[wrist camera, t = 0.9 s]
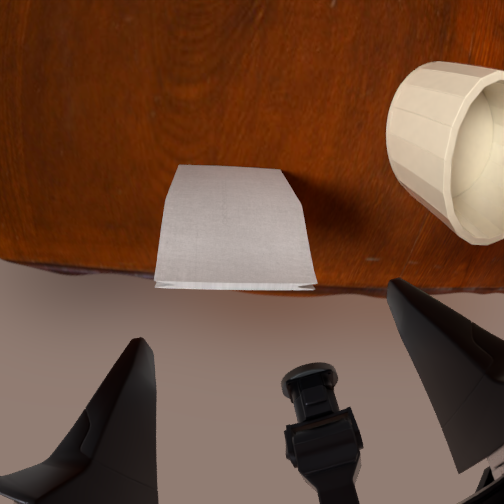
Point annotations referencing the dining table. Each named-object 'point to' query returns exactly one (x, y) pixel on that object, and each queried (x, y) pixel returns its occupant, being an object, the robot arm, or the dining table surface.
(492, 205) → the holder
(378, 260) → the dining table surface
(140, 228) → the dining table surface
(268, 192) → the tea bag
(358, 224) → the dining table surface
